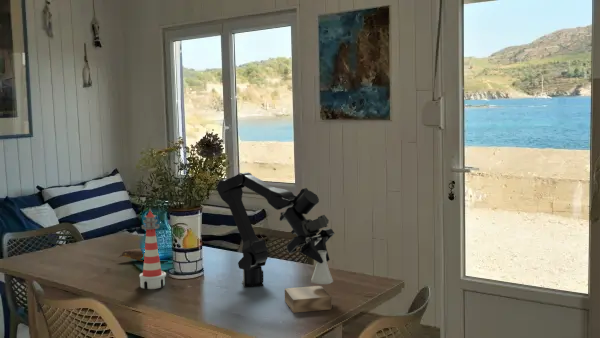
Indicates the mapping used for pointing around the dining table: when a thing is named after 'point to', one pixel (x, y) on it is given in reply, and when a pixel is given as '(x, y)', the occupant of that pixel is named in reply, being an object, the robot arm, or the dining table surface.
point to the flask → (322, 271)
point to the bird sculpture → (133, 254)
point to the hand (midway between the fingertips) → (325, 261)
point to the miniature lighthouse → (151, 257)
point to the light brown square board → (307, 299)
